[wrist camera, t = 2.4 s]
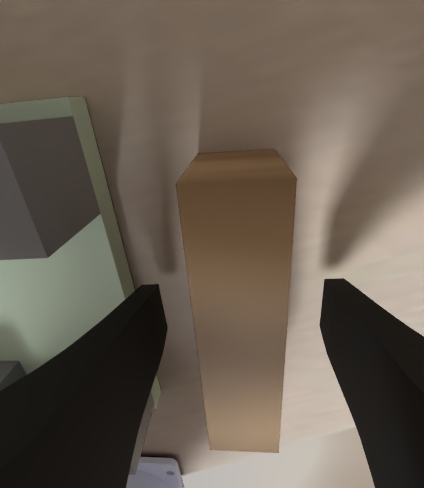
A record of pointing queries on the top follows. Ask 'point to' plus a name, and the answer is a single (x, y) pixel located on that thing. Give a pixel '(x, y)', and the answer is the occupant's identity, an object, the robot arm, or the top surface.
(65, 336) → the base board
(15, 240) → the end caps
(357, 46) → the top surface
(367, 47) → the top surface
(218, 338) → the slat
